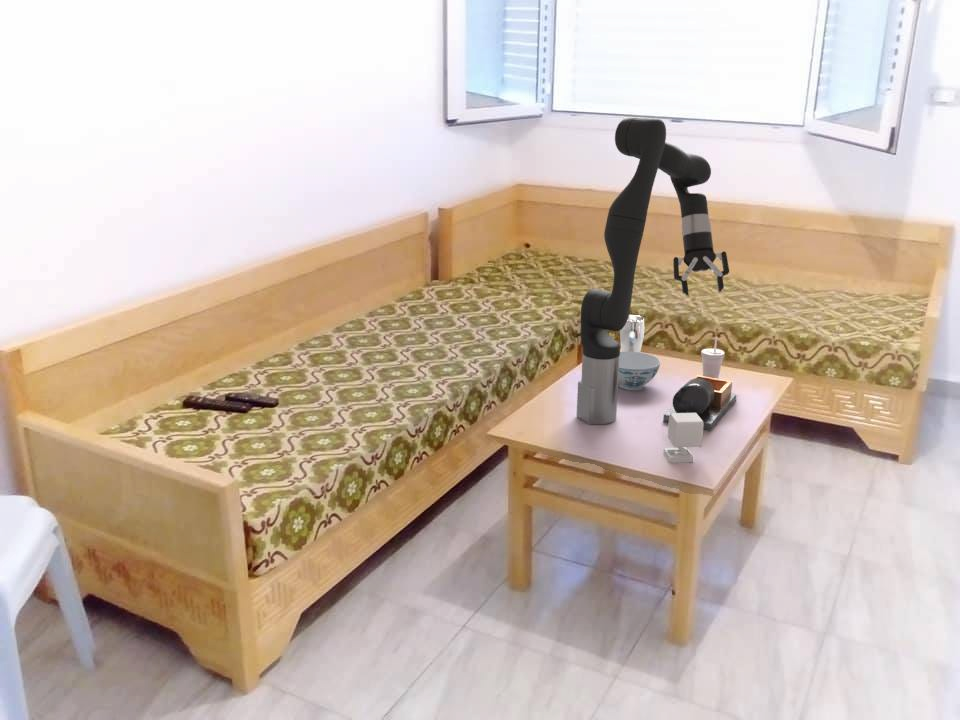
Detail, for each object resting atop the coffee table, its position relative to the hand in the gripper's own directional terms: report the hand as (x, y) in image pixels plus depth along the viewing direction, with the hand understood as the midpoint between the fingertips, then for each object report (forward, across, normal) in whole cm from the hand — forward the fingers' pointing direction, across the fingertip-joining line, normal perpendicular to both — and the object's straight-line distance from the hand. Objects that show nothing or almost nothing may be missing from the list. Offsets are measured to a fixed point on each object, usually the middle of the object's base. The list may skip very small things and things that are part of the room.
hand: (703, 293), depth 239 cm
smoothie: (+24, 0, +16) cm, 29 cm away
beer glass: (+16, -21, +26) cm, 38 cm away
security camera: (+41, -12, -31) cm, 53 cm away
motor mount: (+31, -4, -3) cm, 31 cm away
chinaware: (+23, -21, +11) cm, 33 cm away
